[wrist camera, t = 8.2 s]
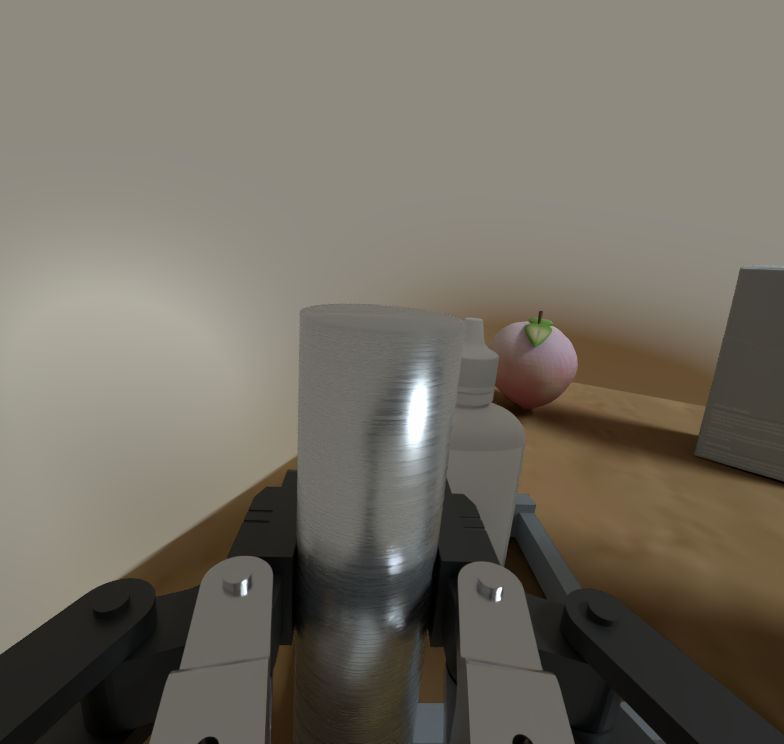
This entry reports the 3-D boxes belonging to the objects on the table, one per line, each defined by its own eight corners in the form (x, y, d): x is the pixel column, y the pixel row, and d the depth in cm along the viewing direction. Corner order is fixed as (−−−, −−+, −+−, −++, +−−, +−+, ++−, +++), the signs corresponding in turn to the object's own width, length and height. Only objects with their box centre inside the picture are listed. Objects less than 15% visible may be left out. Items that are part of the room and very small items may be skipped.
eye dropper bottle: (489, 620, 18) (538, 337, 14) (370, 570, 20) (389, 315, 17) (509, 556, 22) (551, 322, 18) (407, 520, 24) (428, 306, 20)
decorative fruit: (480, 389, 48) (493, 301, 45) (556, 400, 47) (573, 309, 44) (478, 419, 39) (494, 312, 37) (571, 433, 38) (595, 322, 35)
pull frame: (522, 525, 24) (567, 289, 20) (713, 862, 11) (935, 366, 7) (329, 520, 23) (339, 272, 19) (282, 879, 10) (286, 324, 6)
